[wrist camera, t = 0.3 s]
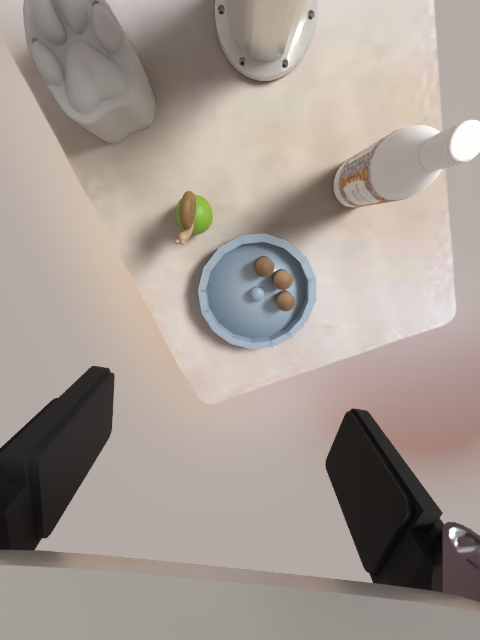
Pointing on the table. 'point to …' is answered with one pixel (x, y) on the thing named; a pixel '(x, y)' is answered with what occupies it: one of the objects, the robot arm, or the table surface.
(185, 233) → the snail figurine
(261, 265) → the bead
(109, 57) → the lumpy-topped squat cylinder
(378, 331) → the table surface
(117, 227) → the table surface
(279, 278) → the bead
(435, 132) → the bath foam
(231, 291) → the tray
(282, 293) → the bead
